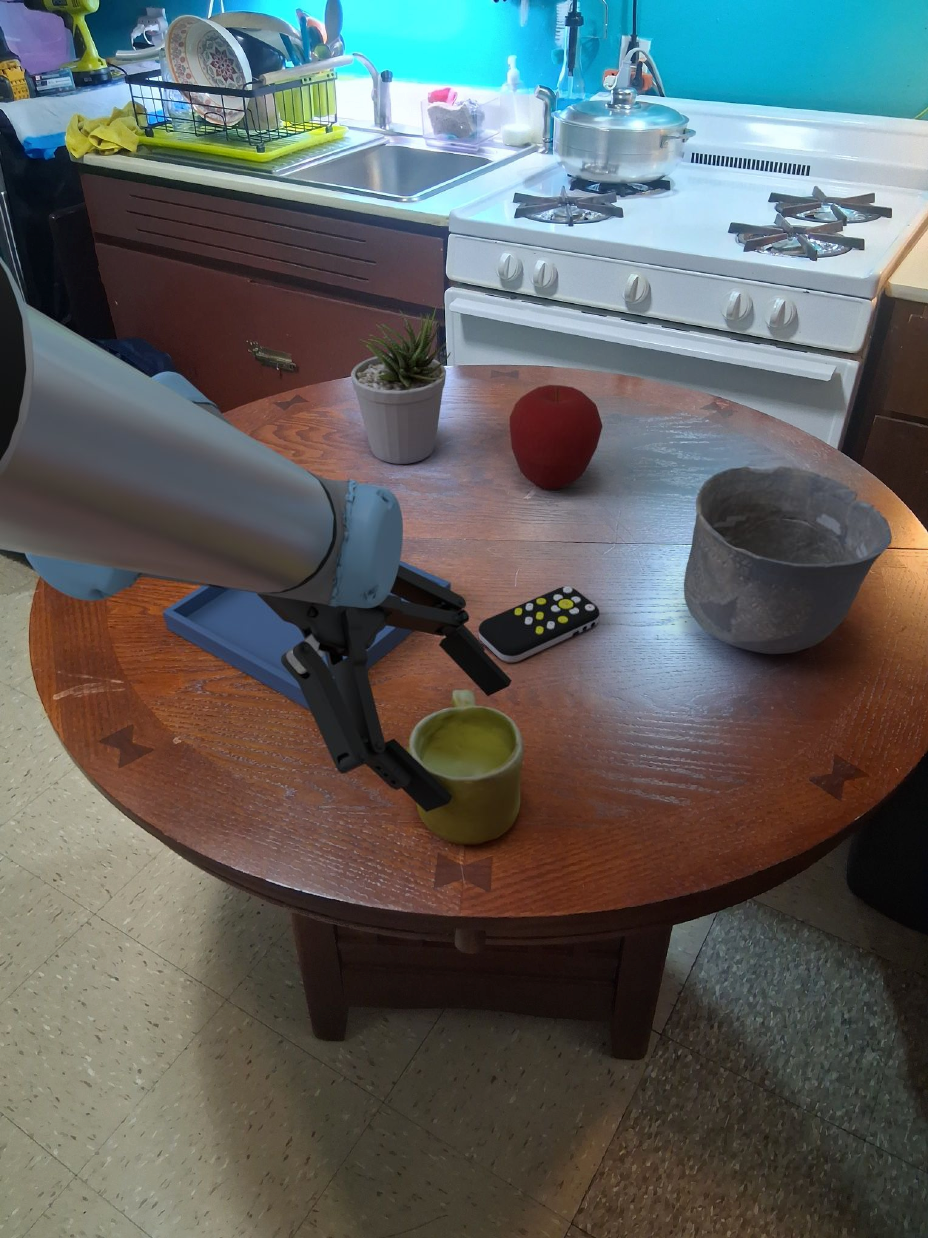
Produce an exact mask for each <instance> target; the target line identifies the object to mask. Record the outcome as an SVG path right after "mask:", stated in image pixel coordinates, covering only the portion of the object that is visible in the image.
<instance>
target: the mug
mask: <svg viewBox="0 0 928 1238" xmlns="http://www.w3.org/2000/svg"><path fill="white" fill-rule="evenodd" d="M451 693H452V694H451V702H450V705H451V707H446V708H442V709H440V710H437V711H434V712H432V713H430V714H429V715H426V716H425V717H423V718H422V719H421V720H420V721H419V722H418V723H417V724H416V725H415V726H414V727H413V729H412V731H411V733H410V735H409V737H408V742H407V747H406V751H407V752H408V753H409V754H410V755H411V756H412V757H413V758H414V759H415V760H416V761H417V762H418V763H419V764H420V765H422V766H423V767H424V768H425V769H426V770H427V771H428V772H429V773H430V774H431V775H432V776H433V777H434V778H435V779H436V780H437V781H438V782H439V783H440V784H441V785H442V786H443V787H444V788H445V789H446V790H447V791H448V792H449V793H450V794H451V795H452V798H451V800H450V802H449V804H446V805H444V806H441V807H439V808H436V809H433V810H431V811H428V812H426V811H425V810H424V809H423V808H422V807H421V806H419V805H418V804H417V803H416V802H415V805H416V809H417V813H418V815H419V818H420V820H421V821H422V823H423V824H424V825H425V827H426V828H427V830H428V831H430V832H431V833H432V834H433V835H434V836H437V837H438V838H440V839H442V840H444V841H446V842H448V843H450V844H453V845H457V846H459V845H460V846H466V845H467V846H468V845H469V846H476V845H481V844H483V843H486V842H490V841H493V840H496V839H498V838H500V836H502V835H504V834H505V833H506V832H507V831H509V830H510V829H511V827H513V825H514V824H515V821H516V819H517V817H518V815H519V811H520V808H521V779H522V771H523V761H524V741H523V737H522V733H521V731H520V728H518V726H517V724H516V722H515V721H514V720H513V719H512V718H511V717H510V716H508V715H507V714H505V713H504V712H503V711H500V710H498V709H496V708H493V707H488V706H485V705H481V706H480V705H476V702H477V701H476V697H475V692H473V691H472V690H470V689H453V690H452V692H451Z"/></svg>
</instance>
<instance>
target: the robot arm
mask: <svg viewBox="0 0 928 1238" xmlns="http://www.w3.org/2000/svg"><path fill="white" fill-rule="evenodd" d="M403 538H404V523H403V514H402V509H401V505H400V502H399V499H398V498H397V497H396V494H395V493H394V492H392V491H391V490H390V489H388V488H387V487H383V486H379V485H372V484H366V483H361V482H358V481H356V480H355V479H353V478H352V479H351V478H348V479H347V480H340V479H332V478H326V477H322V476H318V475H317V474H315V473H313V472H311V471H309V470H308V469H306V468H304V467H302V466H300V465H299V464H297V463H295V462H293V460H290V459H289V458H287V457H285V456H283V455H282V454H280V453H278V452H276V451H275V450H273V449H272V448H270V447H268V446H267V445H266V444H265V445H264V444H263V443H262V442H260V441H258V440H257V439H255V438H253V437H251V436H249V435H248V434H247V433H245V432H243V431H241V430H240V429H238V428H236V427H234V425H233V424H232V423H231V422H230V421H229V420H228V419H227V417H226V416H225V415H224V414H223V413H222V412H221V411H220V409H219V407H218V406H217V405H216V403H215V402H213V401H212V400H210V399H209V398H207V397H206V396H205V395H204V394H203V393H202V392H201V391H199V390H198V388H196V387H195V386H194V385H193V384H192V383H191V382H190V381H189V380H187V379H186V378H185V376H184V375H182V374H180V373H178V372H175V371H163V372H159V373H157V374H155V375H154V376H152V377H151V376H149V375H147V374H146V373H144V372H142V371H140V370H139V369H137V368H136V367H134V366H132V365H130V364H128V363H127V362H125V361H123V359H120V358H118V357H117V356H115V355H114V354H112V353H110V352H108V351H107V350H105V349H104V348H101V347H100V346H98V345H97V344H95V343H93V342H91V341H90V340H89V339H87V338H85V337H83V336H81V335H80V334H78V333H76V332H74V331H73V330H72V329H69V328H68V327H67V326H65V325H63V324H62V323H59V322H58V321H56V320H55V319H53V318H51V317H49V316H47V315H46V314H45V313H43V312H41V311H39V310H37V308H35V307H32V306H31V305H29V304H28V303H26V302H25V301H24V299H23V295H22V293H21V290H20V288H19V286H18V284H17V282H16V280H15V279H14V276H13V274H12V272H11V270H10V268H9V267H8V265H7V264H6V262H4V260H3V258H2V257H1V256H0V550H3V551H9V552H15V553H19V554H20V553H21V554H24V555H25V558H26V559H27V561H28V562H29V563H30V565H31V567H32V568H33V570H34V571H35V572H36V573H37V575H38V576H39V577H40V578H41V579H42V580H43V581H45V583H47V584H48V585H49V586H51V587H52V588H54V589H55V590H56V591H59V593H61V594H63V595H65V596H68V597H70V598H72V599H76V600H80V601H86V602H98V601H101V600H102V601H103V600H105V599H108V598H112V597H113V596H115V595H117V594H118V593H120V592H121V591H125V590H126V589H127V588H129V589H131V588H132V587H133V586H134V585H135V584H136V583H137V582H138V580H139V579H142V578H148V579H154V580H155V579H156V580H162V581H166V582H173V583H174V582H175V583H181V584H188V585H194V586H199V587H201V586H207V587H218V588H222V589H227V588H229V589H235V590H241V591H247V592H253V593H257V595H258V596H259V597H260V598H261V599H262V600H263V601H264V602H265V603H266V604H267V605H268V606H269V607H270V608H271V609H272V610H273V611H274V612H275V613H276V614H277V615H278V616H279V617H280V618H281V619H282V620H283V621H285V622H289V623H291V624H294V625H295V626H297V627H298V628H299V630H300V631H301V633H302V635H303V637H304V640H303V641H301V642H300V643H299V644H297V645H296V646H294V647H293V648H292V649H290V650H289V651H287V652H286V653H284V654H283V655H282V656H281V663H282V664H283V666H284V667H285V668H286V669H287V670H288V672H289V673H290V674H291V675H292V676H293V677H294V679H295V680H296V681H297V682H298V684H299V686H300V688H301V690H302V693H303V695H304V697H305V699H306V702H307V704H308V706H309V708H310V710H309V711H310V712H311V715H312V717H313V719H314V722H315V723H316V726H317V728H318V730H319V732H320V734H321V738H322V739H323V741H324V744H325V745H326V748H327V751H328V753H329V754H330V755H329V756H330V757H331V759H332V762H333V763H334V766H335V768H336V770H337V771H338V772H339V773H340V774H343V775H344V774H347V773H349V772H352V771H353V770H356V769H358V768H360V767H362V766H364V765H365V766H367V767H369V768H370V770H372V771H373V772H374V773H375V774H376V775H377V776H378V777H379V778H380V779H381V780H382V781H383V782H384V783H385V784H386V785H387V786H388V787H389V788H391V789H393V790H395V791H398V790H400V789H402V790H403V791H404V792H405V793H406V794H407V795H408V796H409V797H410V798H411V799H412V800H413V802H415V804H416V803H417V804H418V805H419V806H421V807H422V808H423V809H424V810H425V811H426V812H428V811H431V810H433V809H436V808H439V807H441V806H444V805H446V804H449V802H450V800H451V798H452V795H451V794H450V793H449V792H448V791H447V790H446V789H445V788H444V787H443V786H442V785H441V784H440V783H439V782H438V781H437V780H436V779H435V778H434V777H433V776H432V775H431V774H430V773H429V772H428V771H427V770H426V769H425V768H424V767H423V766H422V765H420V764H419V763H418V762H417V761H416V760H415V759H414V758H413V757H412V756H411V755H410V754H409V753H408V752H407V749H405V747H404V746H402V744H400V743H399V742H398V741H397V739H395V738H391V739H390V740H387V741H385V737H384V733H383V729H382V726H381V722H380V718H379V714H378V710H377V706H376V701H375V698H374V694H373V690H372V686H371V682H370V678H369V674H368V670H366V663H367V661H368V656H367V652H366V650H367V649H369V648H370V647H371V646H372V644H373V643H374V641H375V638H376V635H377V633H379V632H380V631H382V630H383V629H384V628H385V626H392V627H397V628H402V629H407V630H413V632H414V631H415V632H418V633H423V634H429V635H435V636H438V637H444V636H445V637H444V638H442V639H441V640H440V642H439V643H438V646H439V647H440V648H441V649H442V651H444V653H446V655H447V656H449V658H451V660H453V662H454V663H455V664H456V665H457V666H458V667H459V668H460V669H461V670H462V671H463V672H464V673H465V674H466V675H467V677H469V678H470V679H471V681H472V682H473V683H474V684H475V685H476V686H477V687H478V688H479V689H480V690H481V691H482V692H483V693H484V694H485V695H486V696H487V697H490V696H492V695H494V694H497V693H498V692H500V691H502V690H504V689H506V688H509V687H510V685H511V683H512V682H513V680H512V679H511V678H510V676H508V675H507V674H506V673H505V672H504V671H503V669H501V667H500V666H499V665H498V664H497V663H496V662H495V661H494V660H493V659H492V658H491V657H490V656H489V655H488V653H486V652H485V651H486V649H485V647H484V645H483V644H482V643H483V642H482V641H481V640H480V639H478V638H477V637H476V636H475V634H473V633H472V631H471V630H470V629H469V628H468V627H467V626H466V625H465V624H466V623H468V622H469V621H470V616H469V613H468V612H467V611H466V610H465V607H466V606H467V601H466V599H465V597H463V596H462V595H460V594H458V593H456V592H455V591H452V590H451V591H450V590H448V589H447V588H445V587H443V586H441V585H439V584H437V583H435V582H433V581H431V580H429V579H427V578H425V577H423V576H421V575H419V574H417V573H415V572H413V571H411V570H409V569H407V568H405V567H403V566H401V565H399V563H400V561H401V557H402V549H403ZM389 593H392V594H394V595H396V596H393V595H389ZM397 596H398V597H397ZM401 598H402V599H404V600H406V601H408V602H405V601H401ZM444 603H445V604H444ZM322 651H324V652H325V656H326V660H327V664H328V667H327V665H326V663H325V662H324V661H323V659H322V657H323V656H324V653H323V652H322ZM343 656H345V657H347V658H345V659H343ZM333 677H335V680H336V683H335V681H334V679H333ZM336 684H337V685H336Z"/></svg>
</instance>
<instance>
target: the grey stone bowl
mask: <svg viewBox="0 0 928 1238" xmlns="http://www.w3.org/2000/svg"><path fill="white" fill-rule="evenodd" d="M858 494H859V492H857V491H855V490H852V489H850V487H849V486H848V485H846V484H844V483H842V482H840V481H838V480H836V479H833V478H830V477H827V476H823V475H820V474H818V473H816V472H813V471H809V470H804V469H798V468H796V467H790V466H783V465H782V466H775V467H771V468H770V467H769V468H756V467H755V468H752V467H749V466H747V465H745V466H741V467H732V468H728V469H725V470H723V471H719V472H717V473H715V474H714V475H711V477H709V478H708V479H706V480H705V481H704V483H703V484H702V485H701V487H700V489H699V491H698V493H697V496H696V499H695V512H696V515H695V524H694V527H693V534H692V539H691V541H692V542H691V547H690V551H689V555H688V560H687V562H686V567H685V573H684V583H683V595H684V601H685V605H686V607H687V609H688V611H689V613H690V616H691V617H692V618H693V619H694V620H695V622H696V623H697V624H698V625H699V627H700V628H701V629H702V630H703V631H704V632H705V633H707V634H709V635H711V636H712V637H714V638H716V639H717V640H719V641H721V642H722V643H725V644H727V645H731V646H733V647H736V648H739V649H742V650H746V651H751V652H755V653H759V654H768V655H779V654H780V655H781V654H792V653H795V652H799V651H803V650H805V649H809V648H811V647H814V646H816V645H818V644H819V643H821V642H823V640H825V639H826V638H827V637H828V636H830V635H831V634H832V633H833V632H834V631H835V630H836V628H838V626H839V625H840V624H841V623H842V622H843V621H844V619H846V616H847V614H848V613H849V611H850V609H851V607H852V605H853V603H854V602H855V600H856V598H857V596H858V593H859V591H860V588H861V585H862V584H863V582H864V581H865V579H866V577H867V576H868V574H869V572H870V570H871V568H872V566H873V565H874V564H875V562H877V561H876V560H877V559H878V558H879V557H880V556H881V555H882V554H883V553H884V552H886V550H887V549H888V548H889V547H890V545H891V543H892V539H893V536H892V529H891V527H890V524H889V522H888V520H887V518H886V517H885V516H883V515H882V512H881V511H880V510H878V509H876V508H875V505H874V504H871V503H869V502H868V501H866V500H864V499H859V500H857V498H858V497H857V496H858Z"/></svg>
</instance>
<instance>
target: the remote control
mask: <svg viewBox="0 0 928 1238" xmlns="http://www.w3.org/2000/svg"><path fill="white" fill-rule="evenodd" d="M599 619H600V609H599V607H598V606H597V605H596V604H595V603H593V602H592V600H590V599H589V598H587V597H586V596H585V595H583V594H582V593H581V592H579V591H578V590H577V589H576V588H574V587H570V586H561V587H558V588H556V589H553V590H551V591H549V592H547V593H544V594H541V595H540V596H537V597H534V598H532V599H531V600H528V601H525V602H523V603H521V604H518V605H516V606H514V607H511V608H509V609H507V610H504V611H502V612H500V613H498V614H496V615H493V616H491V617H489V618H486V619H484V620H483V621H482V622H481V623H480V624H479V626H478V639H479V641H480V642H481V643H483V644H484V645H485V646H486V647H487V648H488V649H489V650H490V651H491V652H492V653H493V654H494V655H495V656H496V657H497V658H498V659H500V661H503V662H505V663H517V662H520V661H522V660H524V659H526V658H528V657H531V656H533V655H535V654H537V653H539V652H541V651H543V650H545V649H546V650H547V648H550V647H552V646H555V645H556V644H559V643H560V642H563V641H565V640H567V639H570V638H571V637H573V636H576V635H579V634H580V633H583V632H585V631H587V630H589V629H591V628H593V627H595V626H596V625H598V622H599Z"/></svg>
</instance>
